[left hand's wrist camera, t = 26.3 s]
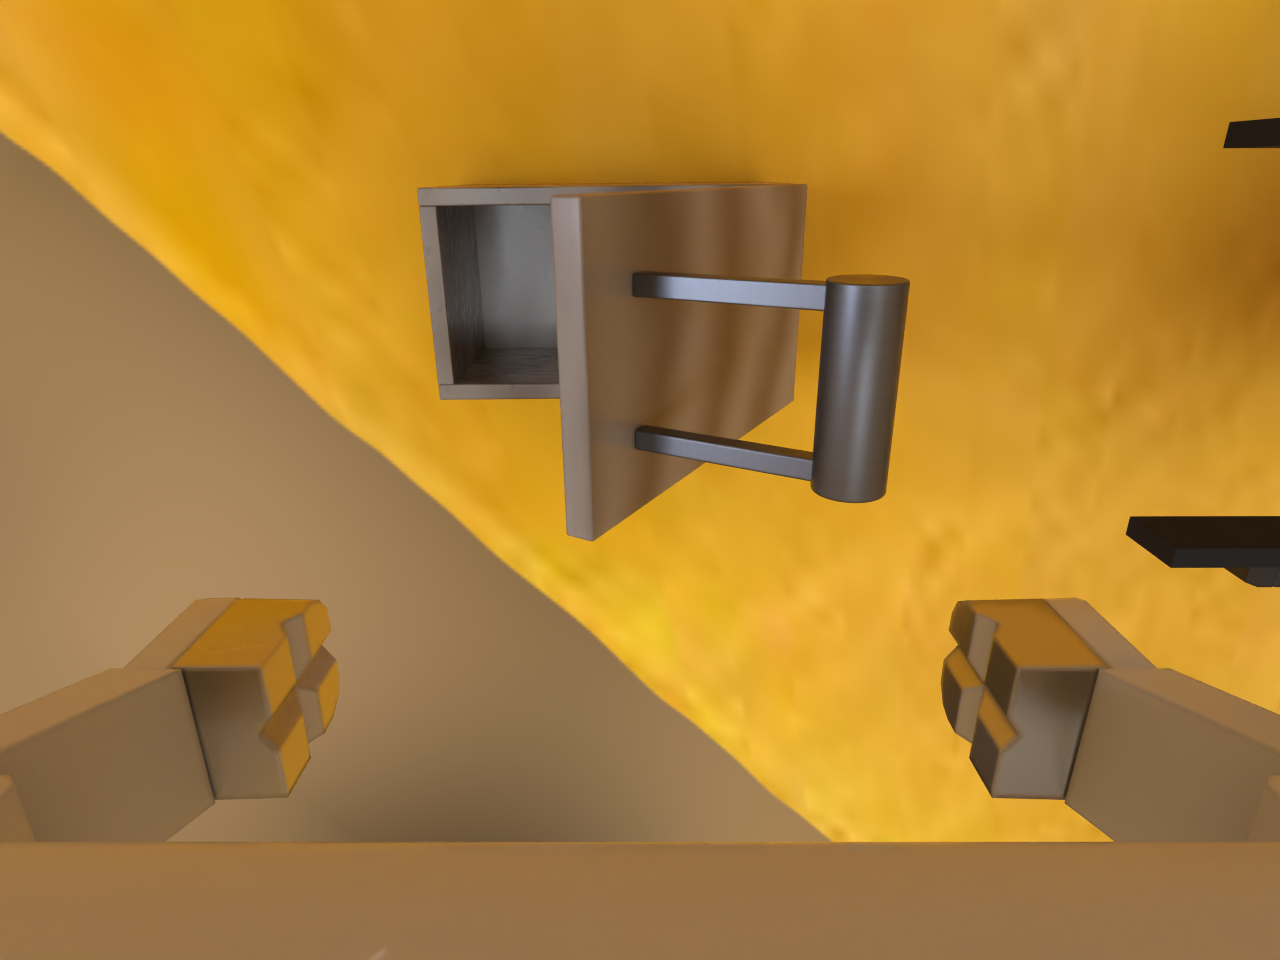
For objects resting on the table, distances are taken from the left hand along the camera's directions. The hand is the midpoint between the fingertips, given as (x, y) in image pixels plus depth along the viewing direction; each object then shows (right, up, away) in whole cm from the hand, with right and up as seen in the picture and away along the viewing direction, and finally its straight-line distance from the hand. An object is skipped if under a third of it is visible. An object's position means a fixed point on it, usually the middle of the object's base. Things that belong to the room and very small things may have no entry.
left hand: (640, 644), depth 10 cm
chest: (-2, +14, +36) cm, 39 cm away
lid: (+2, +8, +20) cm, 21 cm away
